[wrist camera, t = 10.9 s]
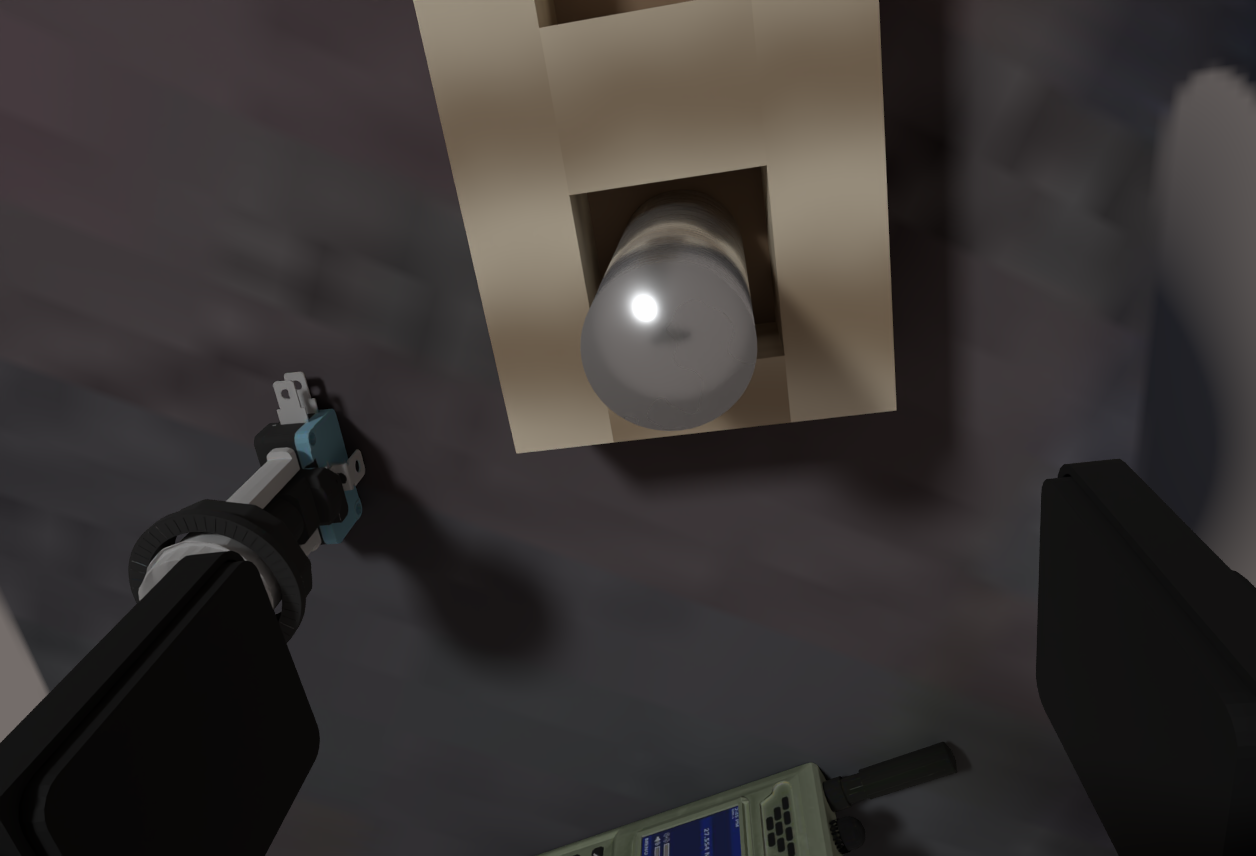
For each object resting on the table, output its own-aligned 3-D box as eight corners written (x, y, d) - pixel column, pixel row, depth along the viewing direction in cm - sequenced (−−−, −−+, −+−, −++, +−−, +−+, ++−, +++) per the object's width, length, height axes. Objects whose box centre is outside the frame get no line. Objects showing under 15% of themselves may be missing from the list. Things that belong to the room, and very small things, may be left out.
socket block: (407, -245, 26) (342, -307, 21) (830, -339, 24) (860, -429, 19) (541, 396, 33) (516, 453, 29) (868, 356, 32) (896, 410, 27)
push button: (235, 373, 34) (63, 497, 25) (369, 360, 33) (243, 482, 24) (283, 525, 36) (143, 687, 27) (408, 516, 36) (307, 679, 27)
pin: (611, 199, 29) (565, 276, 20) (735, 180, 28) (747, 250, 19) (631, 317, 30) (596, 439, 21) (749, 302, 30) (766, 420, 21)
